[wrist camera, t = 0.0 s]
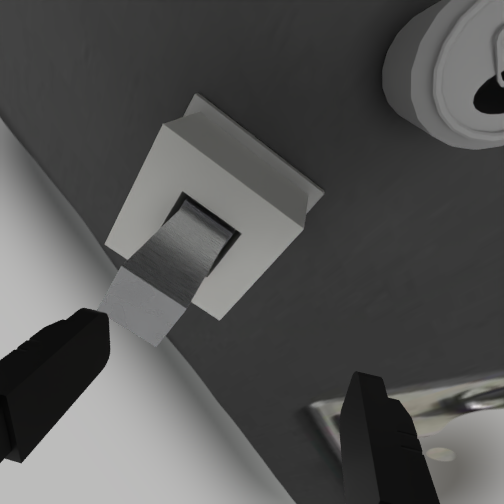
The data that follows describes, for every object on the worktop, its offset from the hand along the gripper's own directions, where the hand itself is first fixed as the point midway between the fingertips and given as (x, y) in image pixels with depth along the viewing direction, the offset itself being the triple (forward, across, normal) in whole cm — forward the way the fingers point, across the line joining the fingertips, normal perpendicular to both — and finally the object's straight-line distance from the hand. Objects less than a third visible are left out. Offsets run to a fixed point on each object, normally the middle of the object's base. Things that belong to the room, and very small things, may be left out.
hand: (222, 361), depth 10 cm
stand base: (+23, +6, +1) cm, 23 cm away
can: (+21, -9, -12) cm, 26 cm away
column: (+22, +6, +1) cm, 23 cm away
